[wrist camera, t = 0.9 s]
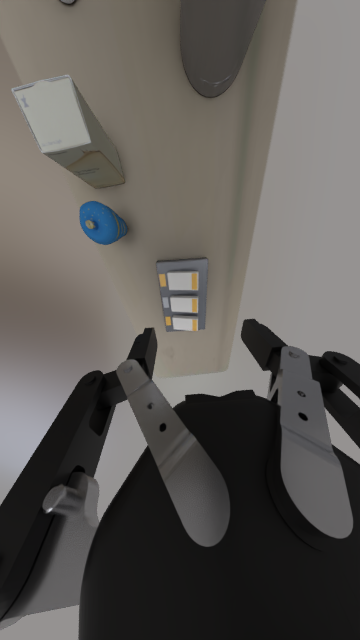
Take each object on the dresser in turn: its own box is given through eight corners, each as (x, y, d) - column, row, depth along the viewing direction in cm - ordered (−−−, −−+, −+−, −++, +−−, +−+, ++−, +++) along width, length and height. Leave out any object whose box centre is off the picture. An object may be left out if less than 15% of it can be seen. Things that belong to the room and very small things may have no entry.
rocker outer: (173, 315, 37) (172, 318, 36) (198, 316, 35) (197, 319, 34) (174, 326, 39) (173, 329, 38) (198, 328, 38) (197, 331, 36)
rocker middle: (171, 295, 34) (169, 297, 32) (198, 296, 32) (197, 298, 31) (173, 308, 36) (171, 311, 35) (198, 310, 34) (197, 313, 33)
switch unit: (157, 261, 32) (155, 263, 29) (205, 257, 32) (208, 259, 29) (167, 326, 43) (166, 333, 40) (203, 323, 43) (205, 330, 40)
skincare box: (95, 189, 25) (40, 156, 15) (83, 154, 23) (6, 86, 12) (126, 183, 25) (92, 144, 15) (117, 147, 22) (68, 70, 12)
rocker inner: (169, 271, 31) (166, 273, 29) (198, 270, 29) (198, 272, 28) (170, 288, 33) (168, 290, 31) (198, 288, 31) (197, 290, 30)
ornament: (131, 210, 27) (92, 187, 14) (141, 239, 30) (115, 240, 17) (108, 217, 27) (51, 200, 15) (120, 244, 30) (79, 250, 18)
